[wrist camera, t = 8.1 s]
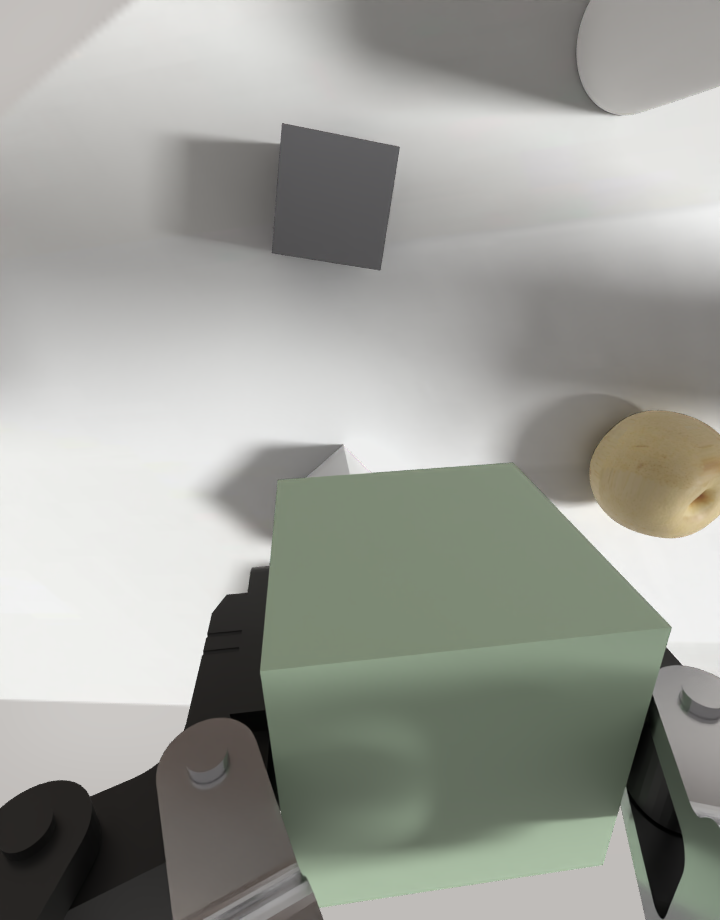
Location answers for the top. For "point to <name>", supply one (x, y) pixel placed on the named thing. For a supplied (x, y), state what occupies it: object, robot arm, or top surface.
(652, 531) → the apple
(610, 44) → the mug
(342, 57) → the top surface
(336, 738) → the sage block
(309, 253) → the charcoal block
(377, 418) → the top surface
